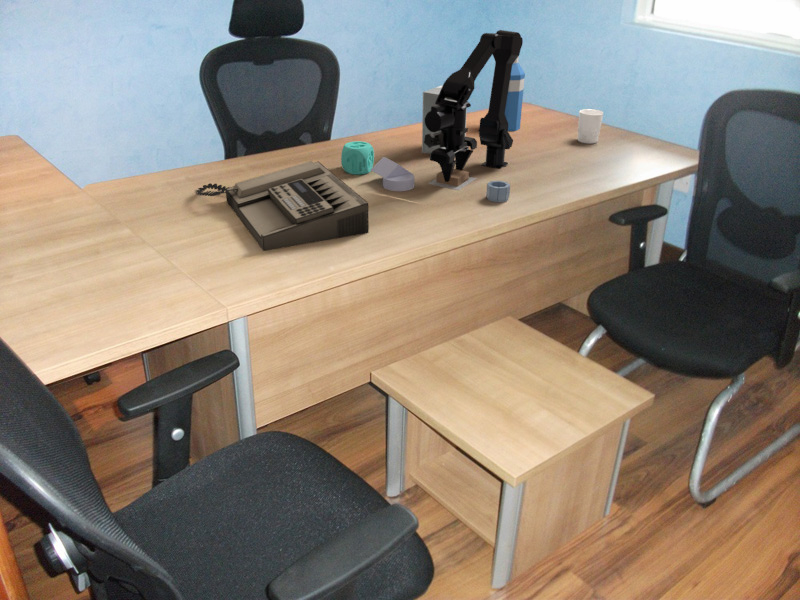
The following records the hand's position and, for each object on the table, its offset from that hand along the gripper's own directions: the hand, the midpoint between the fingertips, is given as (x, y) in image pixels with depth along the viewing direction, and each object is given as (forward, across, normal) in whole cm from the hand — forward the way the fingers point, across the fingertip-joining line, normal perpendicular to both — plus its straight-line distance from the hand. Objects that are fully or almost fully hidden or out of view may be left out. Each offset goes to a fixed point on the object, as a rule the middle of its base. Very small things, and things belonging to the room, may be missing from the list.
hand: (452, 178), depth 217 cm
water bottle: (+1, -63, -10) cm, 64 cm away
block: (+1, 0, 0) cm, 1 cm away
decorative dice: (+2, +6, -29) cm, 30 cm away
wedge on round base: (+2, +11, -13) cm, 17 cm away
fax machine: (+2, +46, -29) cm, 54 cm away
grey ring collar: (+1, +6, +17) cm, 18 cm away
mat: (+1, 0, 0) cm, 1 cm away
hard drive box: (+2, -27, -17) cm, 32 cm away
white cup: (+2, -63, +20) cm, 66 cm away
